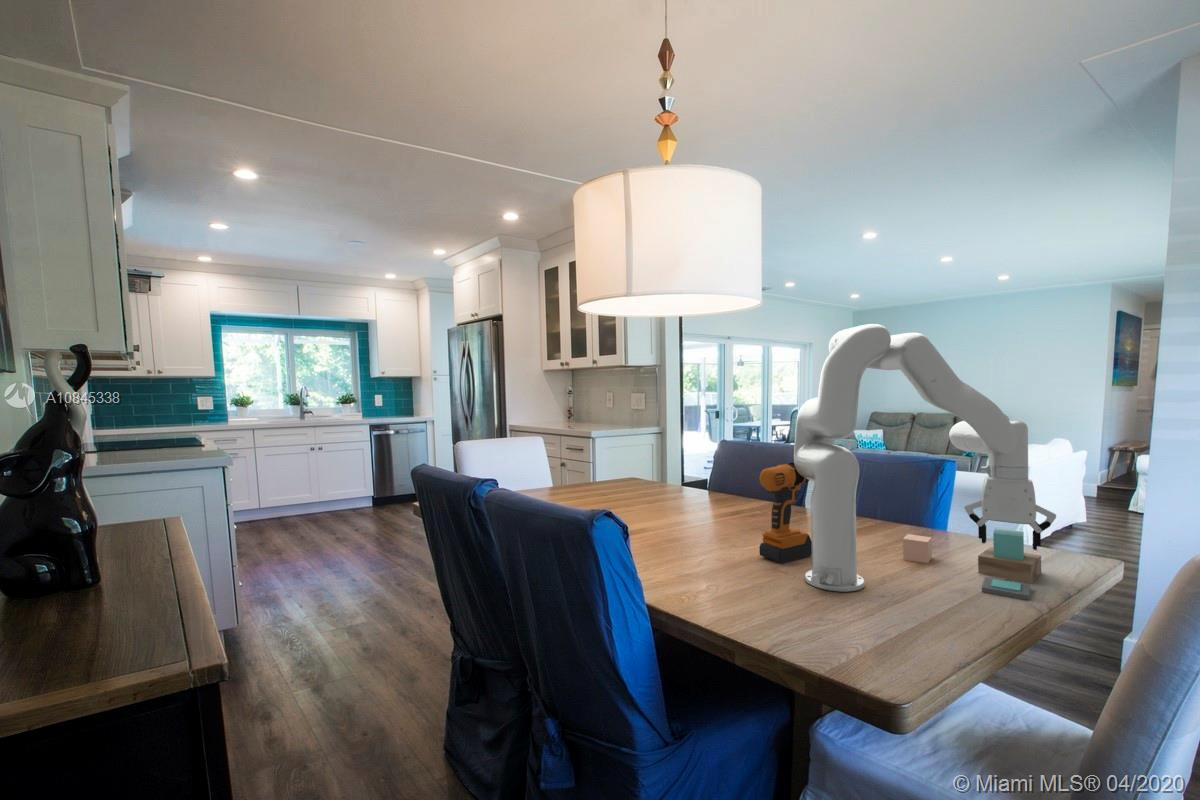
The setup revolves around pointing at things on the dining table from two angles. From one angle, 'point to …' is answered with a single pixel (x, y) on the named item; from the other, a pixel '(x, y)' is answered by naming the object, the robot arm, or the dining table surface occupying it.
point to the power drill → (783, 516)
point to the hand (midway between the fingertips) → (1008, 545)
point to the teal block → (1008, 544)
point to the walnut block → (1010, 566)
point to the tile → (1006, 588)
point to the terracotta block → (917, 548)
